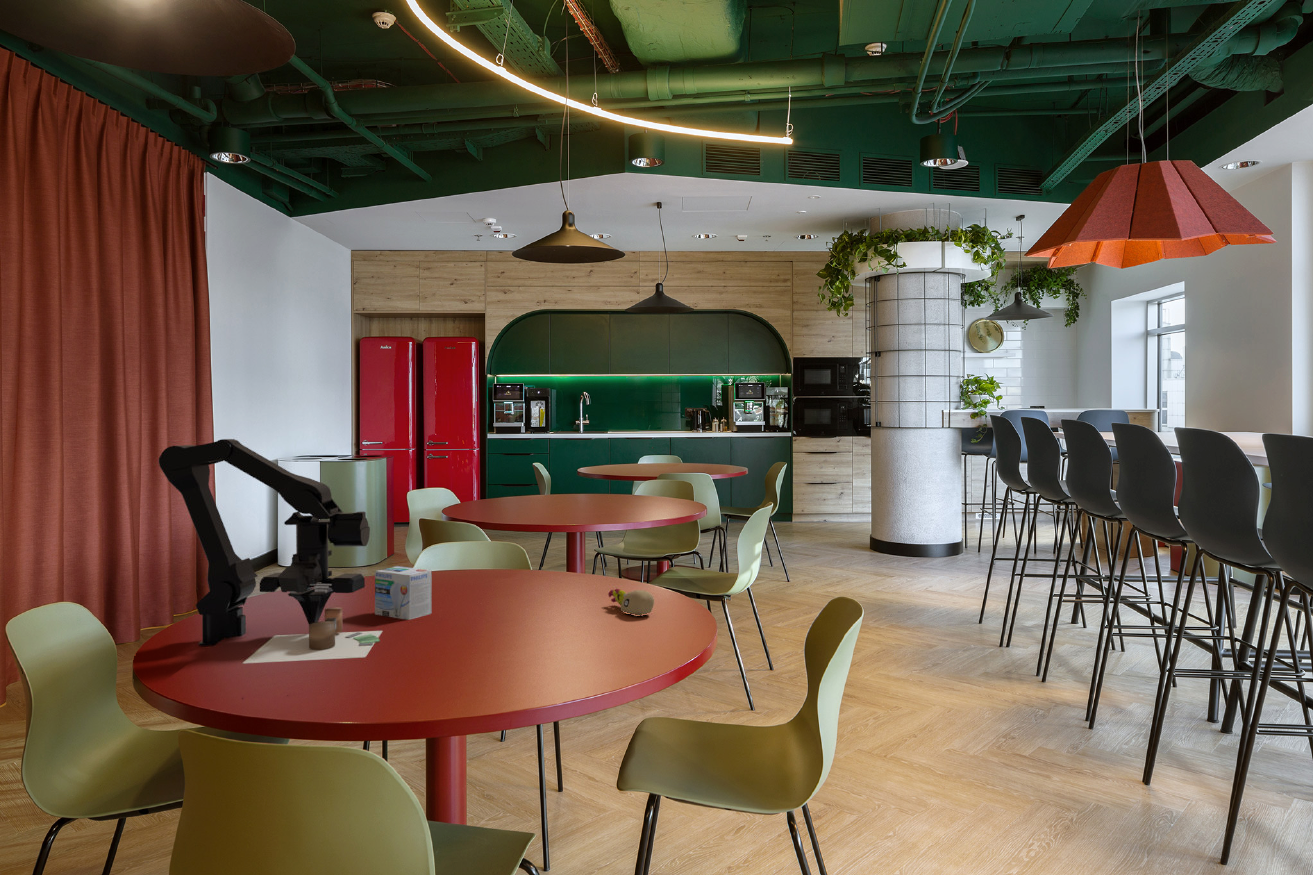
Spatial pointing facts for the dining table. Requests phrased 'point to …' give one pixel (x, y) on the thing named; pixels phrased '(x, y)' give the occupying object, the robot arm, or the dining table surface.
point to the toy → (633, 601)
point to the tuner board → (299, 650)
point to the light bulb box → (403, 592)
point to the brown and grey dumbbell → (326, 629)
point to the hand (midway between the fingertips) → (313, 626)
